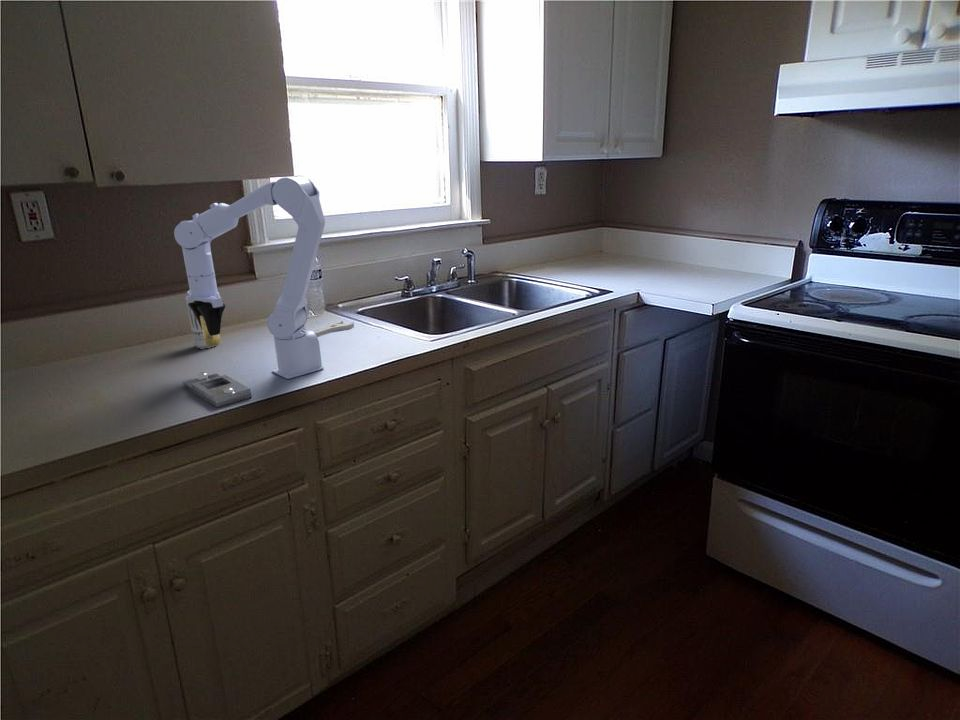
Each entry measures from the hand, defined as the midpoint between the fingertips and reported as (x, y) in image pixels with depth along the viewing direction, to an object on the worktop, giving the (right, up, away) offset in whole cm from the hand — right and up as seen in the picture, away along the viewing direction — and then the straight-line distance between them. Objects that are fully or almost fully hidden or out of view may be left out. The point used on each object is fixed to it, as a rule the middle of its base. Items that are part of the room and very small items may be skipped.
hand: (211, 332), depth 145 cm
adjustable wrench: (+16, 0, +31) cm, 35 cm away
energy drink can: (-11, -3, +23) cm, 26 cm away
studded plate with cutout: (+5, -13, -9) cm, 17 cm away
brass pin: (0, -2, +1) cm, 3 cm away
